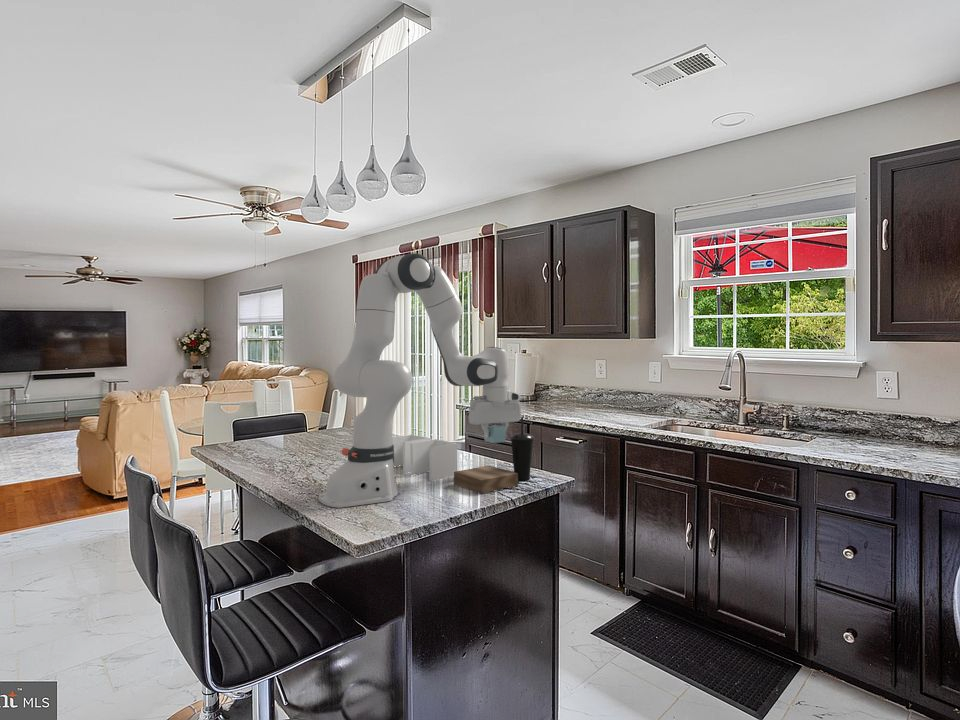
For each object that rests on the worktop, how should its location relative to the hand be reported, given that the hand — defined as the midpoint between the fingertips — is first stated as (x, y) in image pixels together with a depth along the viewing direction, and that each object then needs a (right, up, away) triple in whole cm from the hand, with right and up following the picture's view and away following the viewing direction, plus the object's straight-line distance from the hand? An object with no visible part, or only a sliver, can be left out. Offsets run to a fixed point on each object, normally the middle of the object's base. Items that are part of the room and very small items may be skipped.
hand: (494, 436), depth 187 cm
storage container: (-25, -13, +3) cm, 28 cm away
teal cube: (0, -2, 0) cm, 2 cm away
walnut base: (-3, -13, -16) cm, 21 cm away
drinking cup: (+9, -13, -8) cm, 17 cm away
